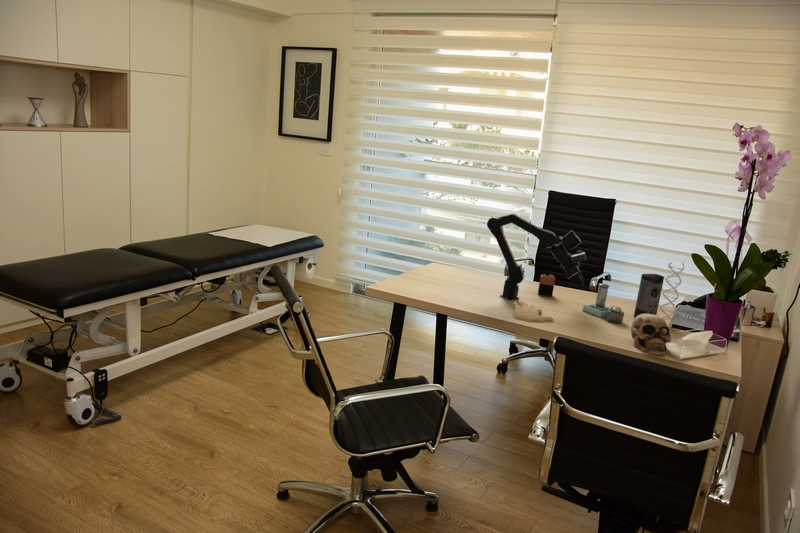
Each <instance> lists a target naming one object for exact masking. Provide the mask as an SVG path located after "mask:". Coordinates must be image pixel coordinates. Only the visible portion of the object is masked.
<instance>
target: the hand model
mask: <svg viewBox="0 0 800 533" xmlns="http://www.w3.org/2000/svg"><path fill="white" fill-rule="evenodd" d="M512 304H513V306H514V307H515V309H514V311H513V318H515V319H517V320H522V321H526V322H539V323H543V322H554V320H555V319H554V318H553V317H552V316H550V315H540V313H541V312H543V310H542V308H540V307H537V308H534V305H531V304H529V305H528V304H527V302H522V304H521V306H520V305H519V304H518V302H517V301H516V300H513V303H512Z"/></svg>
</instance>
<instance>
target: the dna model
mask: <svg viewBox="0 0 800 533" xmlns="http://www.w3.org/2000/svg"><path fill="white" fill-rule="evenodd" d="M671 264H673V261H672V262H669V263H668V265H667V266H668V268H669V270H670V271H672V272H673V273H674V274H672V275H668V276H667V277H665V278H664V281H665V282H666V283H667V285H669V286H670V287H671V288H669V289H667V290H666V289H665V290H664V291H663V292H662V297H664V298H665V299H666V300H667V301H668V302H666V303H664V304H662V305H660V306H659V310H660V311H662V313H663V314H664V315H665V316H663V317H662V318H663V319H664V320H665V319H668V320H669V321H670V325H667V326H668V327H669V330H670V329H671V328H672V326H673V320H672V318H671V316H673V315H674V314H675V313H676V306H675V303H674V302H676V301H677V300H678V298H679V292H678V289H677V288H678V287H679V286H680V285H681V284H682V283H683V282H682V279H681V276H680V275H679V274H680V273H682V272H683V271H685V263H684V262H683V261H682V262H681V264H682V268H679V267H677V270H680V271H675V270H674V269H676V267H675V266H671ZM670 278H678V279H679V283H678V282H675V281H674V282H673V281H671V280H668V279H670ZM671 283H674V284H676V285H675V286H673V285H672V284H671ZM670 291H674V292H675V294H676V297H675V296H669V295H667V294H665V293H666V292H670ZM669 298H672V299H673V300H670V299H669ZM668 305H671V306H672V307H673V311H670V310H666V309H664V308H662V307H664V306H668ZM666 311H667V312H670V314H668V313H666Z"/></svg>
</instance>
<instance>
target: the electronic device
mask: <svg viewBox="0 0 800 533" xmlns="http://www.w3.org/2000/svg"><path fill="white" fill-rule="evenodd" d="M664 282H665V276H663V275H661V274H658V273H642V274H641V277H640V282H639V288H638V293H637V298H636V303H635V308H634V312H633V318H634V319H635V318H636V317H637V316H638V315H640V314H653V315H657V314H658V309H659V305H660V299H661V295H662V290H663V285H664ZM657 316H658V315H657Z"/></svg>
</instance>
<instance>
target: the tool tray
mask: <svg viewBox="0 0 800 533" xmlns="http://www.w3.org/2000/svg"><path fill="white" fill-rule="evenodd" d="M595 304H596V303H591V304H584V305H583V304H582V305H583V306H582V312H585V313H587V314H589V315H593V316H595V317H597V316H598V318H600V317H602V318H606V313H607V309H611V307H608V306H606V305H605V307H606V310H605V311H600V310H597V309H594V308H593V307H594V305H595Z"/></svg>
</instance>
